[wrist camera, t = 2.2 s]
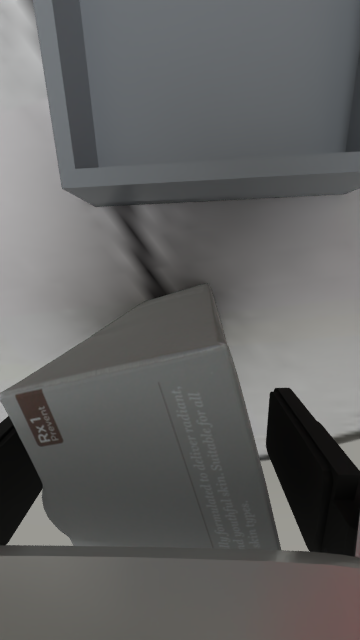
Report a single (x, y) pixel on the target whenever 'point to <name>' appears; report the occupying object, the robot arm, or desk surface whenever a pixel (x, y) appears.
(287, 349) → the desk surface
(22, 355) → the desk surface
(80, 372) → the skincare box
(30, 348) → the desk surface
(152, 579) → the robot arm
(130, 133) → the bin
